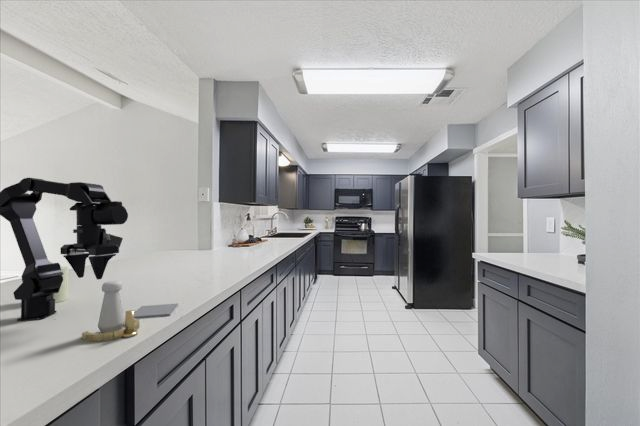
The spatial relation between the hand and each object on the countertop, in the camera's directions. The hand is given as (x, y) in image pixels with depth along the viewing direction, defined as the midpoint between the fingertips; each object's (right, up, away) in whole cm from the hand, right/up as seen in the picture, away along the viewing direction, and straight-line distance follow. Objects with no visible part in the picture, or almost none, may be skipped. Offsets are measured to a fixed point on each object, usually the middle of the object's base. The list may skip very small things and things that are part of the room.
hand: (89, 278), depth 84 cm
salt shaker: (+14, -12, -10) cm, 21 cm away
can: (-29, -13, +18) cm, 36 cm away
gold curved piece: (+17, -12, -11) cm, 23 cm away
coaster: (+16, -12, +6) cm, 21 cm away
